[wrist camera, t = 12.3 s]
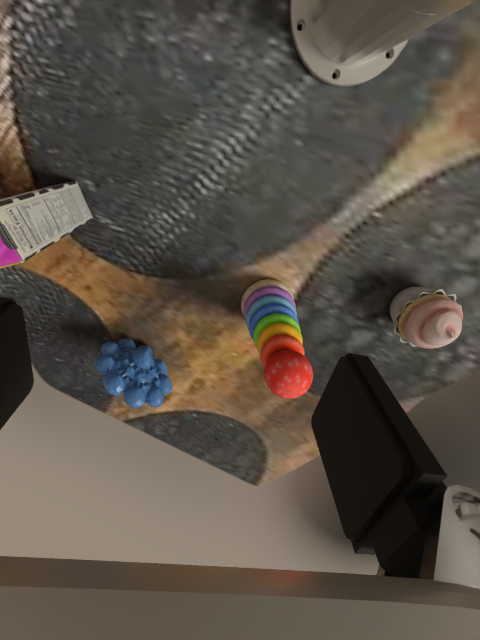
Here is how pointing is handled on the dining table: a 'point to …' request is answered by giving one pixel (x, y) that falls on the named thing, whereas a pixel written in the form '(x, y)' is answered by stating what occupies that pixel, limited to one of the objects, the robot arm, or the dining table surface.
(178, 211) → the dining table surface
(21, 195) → the candy bar box
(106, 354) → the grapes
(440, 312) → the cupcake
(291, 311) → the stacking toy
